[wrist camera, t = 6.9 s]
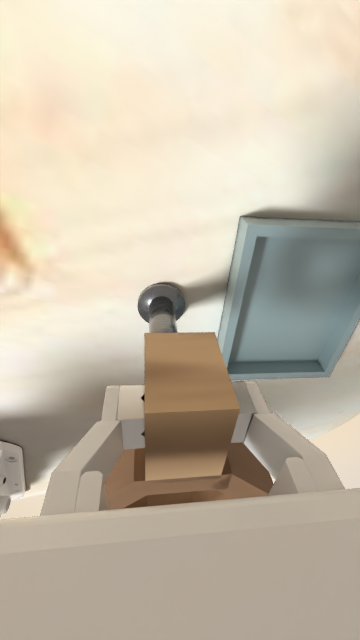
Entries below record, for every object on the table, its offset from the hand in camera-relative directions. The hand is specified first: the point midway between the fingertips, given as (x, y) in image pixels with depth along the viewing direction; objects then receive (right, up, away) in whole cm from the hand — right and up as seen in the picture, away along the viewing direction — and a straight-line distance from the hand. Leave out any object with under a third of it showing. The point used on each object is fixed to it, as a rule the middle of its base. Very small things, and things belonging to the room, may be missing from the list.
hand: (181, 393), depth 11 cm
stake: (-2, +5, +19) cm, 19 cm away
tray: (+12, +5, +20) cm, 24 cm away
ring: (0, -3, +4) cm, 5 cm away
